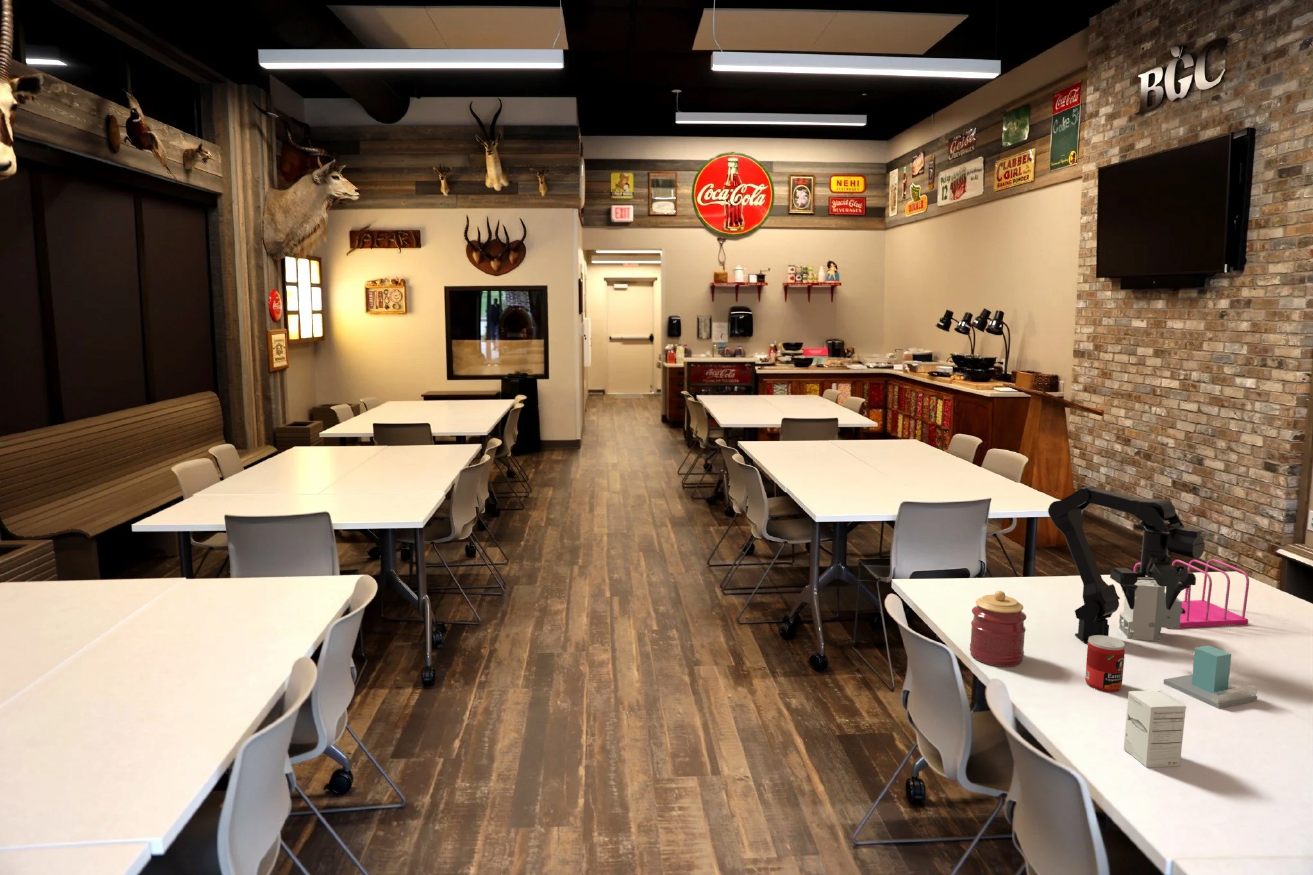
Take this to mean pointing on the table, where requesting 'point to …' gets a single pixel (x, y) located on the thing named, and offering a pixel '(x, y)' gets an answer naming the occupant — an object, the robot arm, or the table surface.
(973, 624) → the canister
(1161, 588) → the circuit breaker
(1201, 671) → the block
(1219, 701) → the plate
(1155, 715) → the supplement box
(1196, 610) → the file sorter
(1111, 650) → the canned food
